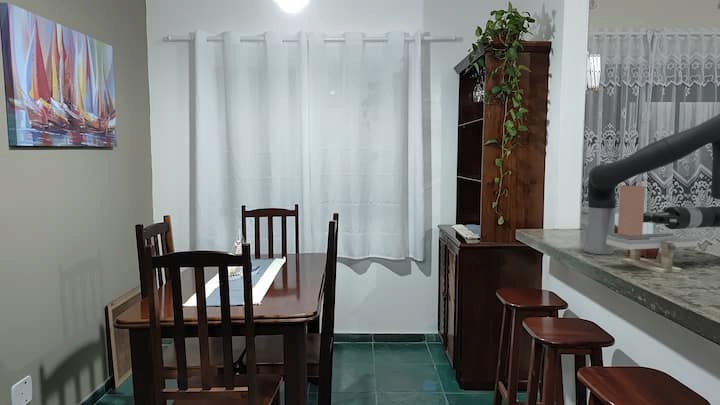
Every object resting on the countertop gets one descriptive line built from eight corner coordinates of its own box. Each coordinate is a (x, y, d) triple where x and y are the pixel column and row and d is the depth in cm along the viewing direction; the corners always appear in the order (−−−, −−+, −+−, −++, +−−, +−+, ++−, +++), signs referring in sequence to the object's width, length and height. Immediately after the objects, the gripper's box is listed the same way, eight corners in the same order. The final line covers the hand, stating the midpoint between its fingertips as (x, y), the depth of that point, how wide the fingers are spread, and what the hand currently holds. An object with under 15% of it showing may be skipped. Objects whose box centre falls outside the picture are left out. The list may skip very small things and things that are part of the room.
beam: (671, 240, 171) (671, 232, 170) (697, 246, 161) (697, 237, 161) (606, 243, 165) (606, 235, 165) (628, 249, 155) (629, 240, 155)
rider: (630, 238, 166) (633, 185, 164) (649, 242, 158) (652, 186, 157) (610, 239, 164) (612, 185, 163) (628, 243, 157) (630, 187, 155)
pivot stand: (639, 260, 173) (641, 233, 172) (682, 271, 156) (684, 242, 155) (620, 261, 171) (621, 234, 170) (661, 273, 154) (663, 243, 153)
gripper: (666, 204, 171) (623, 205, 167) (700, 208, 158) (654, 209, 154) (665, 226, 171) (622, 227, 168) (698, 231, 159) (653, 233, 155)
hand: (637, 218), depth 161 cm, fingers closed
